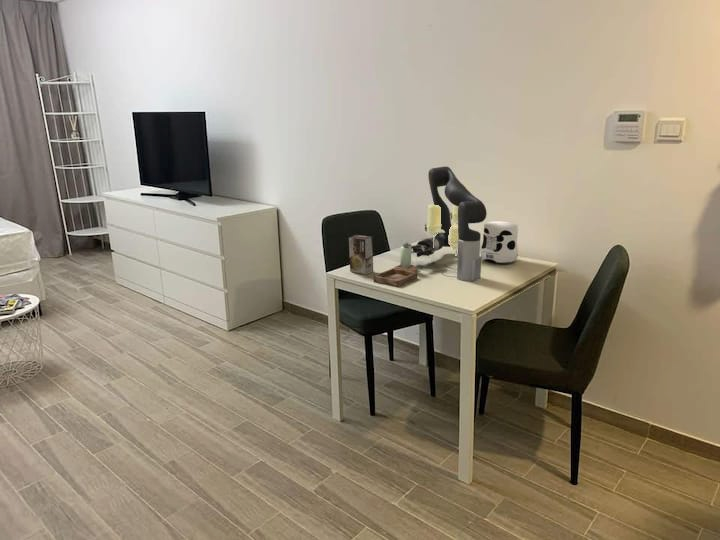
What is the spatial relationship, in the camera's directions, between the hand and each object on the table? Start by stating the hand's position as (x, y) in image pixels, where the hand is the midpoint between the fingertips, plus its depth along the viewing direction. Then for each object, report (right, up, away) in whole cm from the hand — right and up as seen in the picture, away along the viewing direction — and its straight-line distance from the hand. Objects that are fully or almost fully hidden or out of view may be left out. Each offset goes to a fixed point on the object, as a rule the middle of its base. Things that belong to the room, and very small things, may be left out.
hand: (409, 253), depth 246 cm
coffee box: (-22, -8, 0) cm, 23 cm away
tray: (-7, -12, -13) cm, 19 cm away
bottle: (-2, -8, 0) cm, 8 cm away
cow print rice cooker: (+44, -4, +12) cm, 45 cm away
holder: (-2, -8, 0) cm, 8 cm away
